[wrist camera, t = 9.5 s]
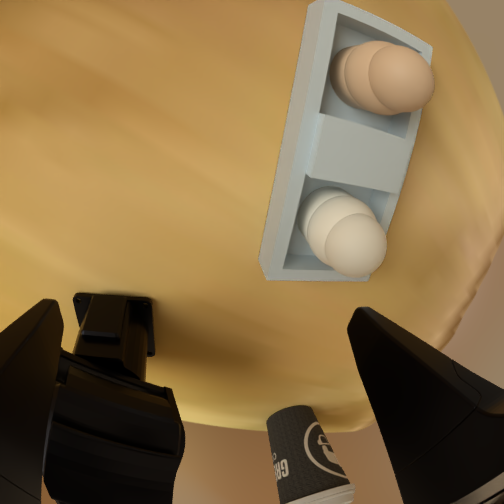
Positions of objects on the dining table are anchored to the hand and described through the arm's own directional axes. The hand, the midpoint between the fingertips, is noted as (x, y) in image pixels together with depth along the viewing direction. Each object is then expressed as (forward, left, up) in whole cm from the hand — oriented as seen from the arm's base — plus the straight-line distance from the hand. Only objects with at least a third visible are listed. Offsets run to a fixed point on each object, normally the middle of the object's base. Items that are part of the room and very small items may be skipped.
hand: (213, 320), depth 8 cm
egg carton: (+4, -9, -12) cm, 15 cm away
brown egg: (+9, -9, -11) cm, 17 cm away
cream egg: (-1, -9, -11) cm, 14 cm away
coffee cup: (-30, -14, -12) cm, 35 cm away
